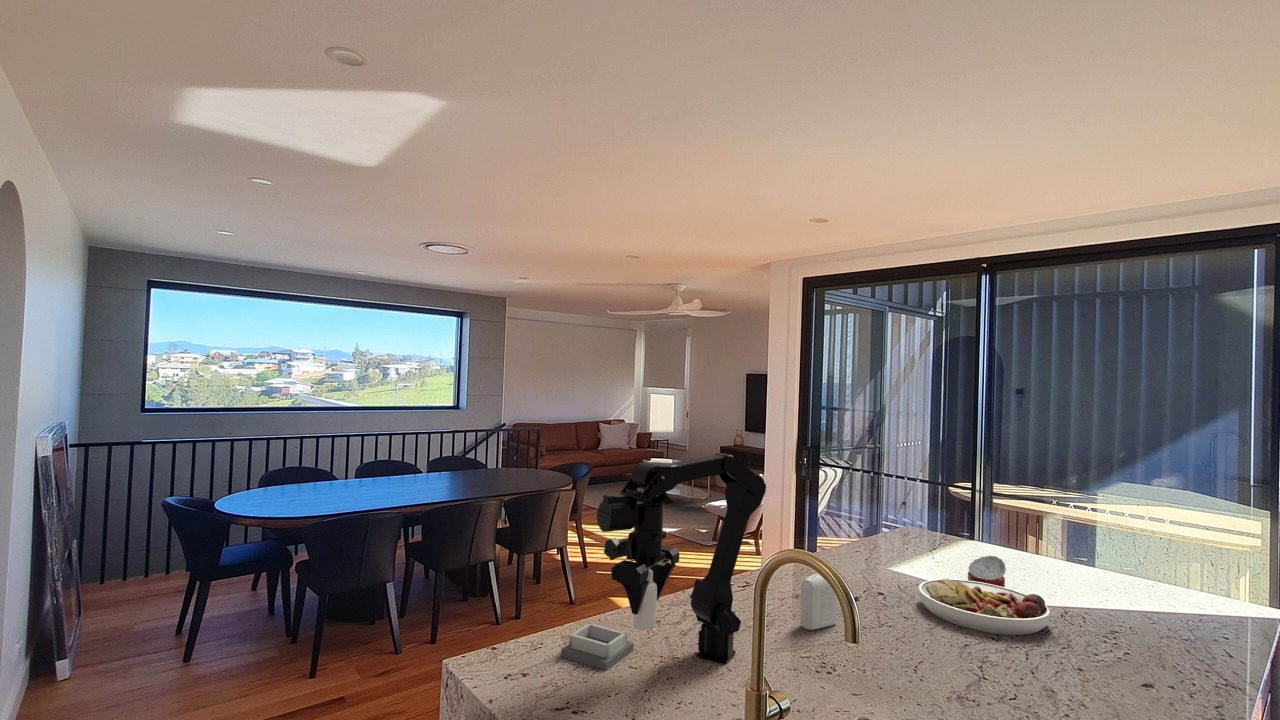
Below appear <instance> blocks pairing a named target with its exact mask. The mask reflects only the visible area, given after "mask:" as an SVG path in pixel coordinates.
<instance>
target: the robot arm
mask: <svg viewBox="0 0 1280 720" xmlns="http://www.w3.org/2000/svg"><path fill="white" fill-rule="evenodd" d="M713 476H718V479H719V480H720V481H721V482H722V483H723V484H724V485H725V486H726V487H725V492H724V496H725V497H724V498H725V503H726V513H725V516H724V519H723V522H722V527H721V529H720V533H719V535H718V539H717V543H716V546H715V550H714V553H713V556H712V559H711V563H710V566H709V569H708V573H707V575H706V576H704V577H703V579H698V578H696V580H695V582H694V585H693V589H692V592H691V593H690V595H689V598H690V607H691V609H692V612H693V613H694V614H695V617H696V618H695V619H696V621H698V622H700V623H702V624H701V625H700V630H699V631H698V642H697V643H698V645H697V650H698V651H699V652H698V653H697V655H696V657H697V658H700V659H704V660H706V661H710V662H714V663H718V664H722V665H726V664H728V663H729V661H731V659H732V658H733V657H734V656H735V655H736V651H737V650H736V651H735V650H734V635H735V634H734V633H737V632H739V630H740V627H741V624H742V621H741V619H740V618H739V617H738V616H737V615H736V614H735V612H734V611H733V610H732V607H733V601H734V596H733V591H732V584H731V583H732V577H733V573H734V571H735V569H736V564H737V561H738V557H739V553H740V550H741V546H742V543H743V540H744V535H745V533H746V530H747V526H748V522H749V519H750V516H751V515H753V514H754V512H756V510H757V509H758V508H759V507H760V506H761V504H762V501H763V499H764V497H765V495H766V491H767V484H766V481H765V480H764V479H763V477H762V476H761V475H759V474H756V473H755V472H753V471H752V470H751V469H750V468H749V467H746V466H745V465H744V464H742V463H740V461H738V460H737V459H736V458H735V457H734V456H733V455H731V454H727V453H722V452H716V453H714V454H711V455H706V456H705V455H704V456H700V457H695V458H690V459H685V460H679V461H675V462H674V461H673V462H657V461H641V462H638V463H637V464H635V467H634V468H633V469H632V472H631V476H630V477H629V479H628V480H627V481H626V483H625V484H624V486H623V488H622V490H620V493H619V494H614V495H613V494H604V495H603V496H602V501H601V502H600V503H599V505H598V509H597V510H596V519H597V521H596V522H597V524H598V527H599V529H600V530H601V531H602V532H603V533H606V532H607V533H608V532H610V533H611V532H618V531H626V530H627V531H628V530H632V529H633V531H630V532H629V533H628V537H626V538H621V539H617V538H616V537H615V538H612V539H611V538H610V539H607V540H605V543H604V550H603V553H604V554H605V556H606V557H608V558H609V561H614V560H616V559H619V558H623V557H626V559H624V560H622V561H620V562H617V563H615V564H614V565H613V566H612V567H611V568H610V569H611V570H610V579H611V580H612V581H615V582H616V583H619V584H620V585H622V587H623V589H624V590H625V593H626V596H627V601H628V604H629V607H630V610H631V614H632V615H634V614H636V615H637V614H638V612H639V610H640V607H641V604H642V601H643V598H644V595H645V592H646V589H647V586H648V583H649V581H647V578H648V571H649V570H648V569H649V568H650V569H651V570H652V571H653V581H652V582H655V583H656V585H657V602H658V600H659V599H660V597H661V595H662V592H663V591H664V589H665V586H666V584H667V582H668V580H669V579H670V577H671V575H672V573H673V571H674V569H675V568H676V564H677V563H679V562H680V551H679V550H678V548H677V547H675V546H670V545H664V544H663V540H664V539H666V537H667V532H666V531H664V510H665V509H664V506H665V505H672V504H674V500H673V499H672V498H671V497H670V496H669V495H668V494H667V492H670V491H672V490H673V489H675V488H676V487H677V486H678V485H680V484H683V483H686V482H691V481H696V480H700V479H705V478H710V477H713ZM632 560H634V561H632Z"/></svg>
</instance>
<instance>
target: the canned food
mask: <svg viewBox="0 0 1280 720" xmlns="http://www.w3.org/2000/svg"><path fill="white" fill-rule="evenodd" d="M1006 571H1007V568H1006V564H1005V562H1004V561H1003V560H1002V558H999V557H998V556H995V555H986V556H980V557H979V558H977V559H974V560H973V561H972V562H970V564H969V566H968V572H967V580H968V581H975V582H982V583H987V584H992V585H996V586H1001V587H1005V588H1006V586H1005V585H1006V584H1005V583H1006V578H1005V574H1006Z"/></svg>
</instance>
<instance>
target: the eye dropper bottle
mask: <svg viewBox="0 0 1280 720" xmlns="http://www.w3.org/2000/svg"><path fill="white" fill-rule="evenodd" d="M648 570H649V571H648V578H647V581H649V583H648V586H647V589H646V592H645V595H644V598H643V601H642V604H641V607H640V610H639V612H638V614H637V615H636V614H633V627H634V629H636V630H640V631H645V630H648V629H651V628H653V627H654V626H655V625H656V623H657V606H658V605H657V604H658V601H657V585H656V583H655V582H652V581H653V571H652V570H651V569H650V568H649V569H648Z"/></svg>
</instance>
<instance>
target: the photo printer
mask: <svg viewBox="0 0 1280 720" xmlns="http://www.w3.org/2000/svg"><path fill="white" fill-rule="evenodd" d="M801 583H802V584H801V594H800V595H801V599H800V625H801V627H802V628H804V629H805V630H807V631H808V630H809V631H812V630H818V629H822V628H826V627H827V628H828V627H830V626H834V625H836V624H837V623H838V606H839V605H838V603H839V602H838V600H839V599H838V600H837V598H836V596H835V594H834V592H833V590H832V589H831V587H830V586H829V585H828V583H827V582H826V581H825V580H824V579H823V578H822V577H821V576H820V575H819V574H818V573H814V574H812V575H810V576H808V577H806V578H805V579H804V580H803V581H802V582H801Z"/></svg>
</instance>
